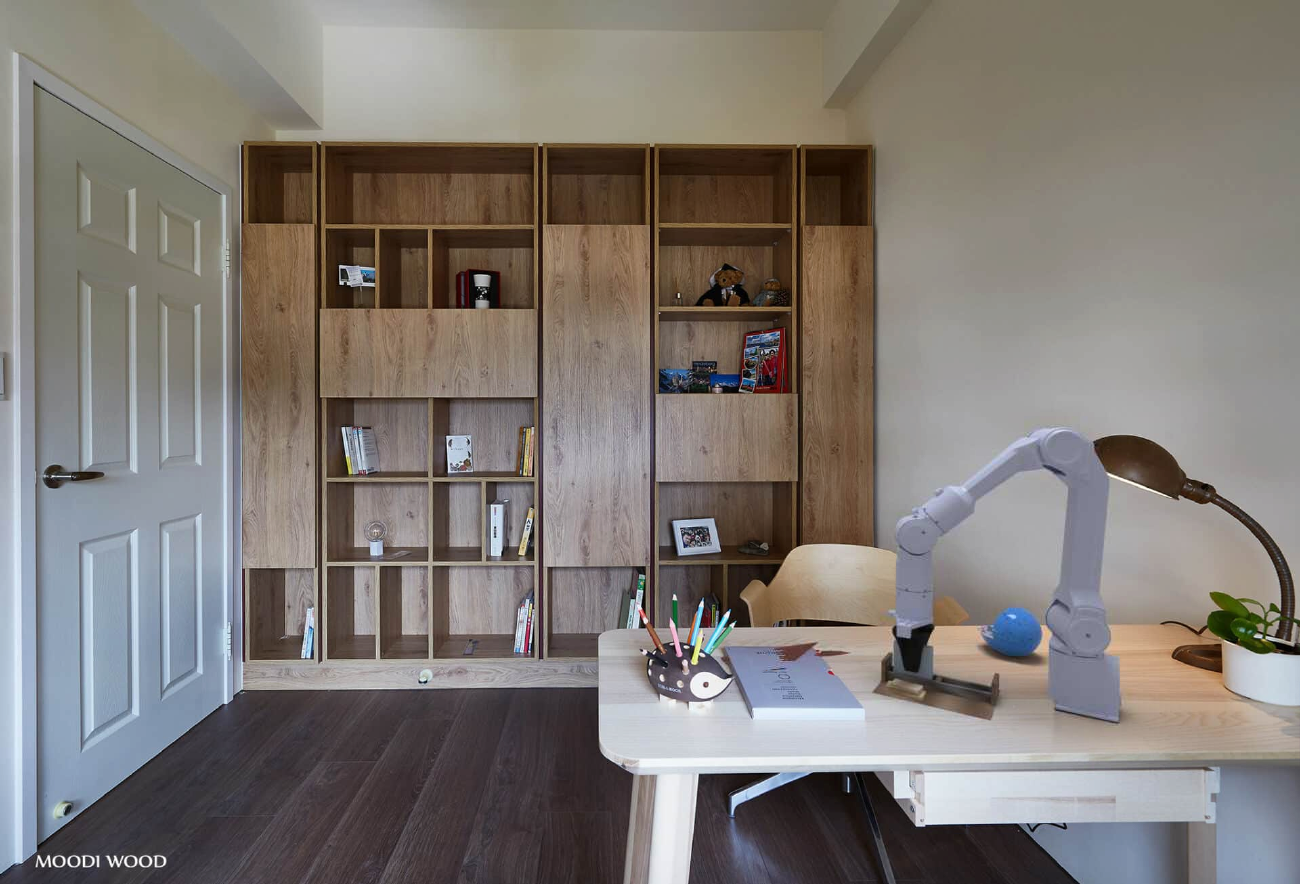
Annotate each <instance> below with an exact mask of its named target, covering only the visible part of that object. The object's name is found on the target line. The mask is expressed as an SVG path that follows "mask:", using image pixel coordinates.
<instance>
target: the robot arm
mask: <svg viewBox="0 0 1300 884" xmlns="http://www.w3.org/2000/svg"><path fill="white" fill-rule="evenodd" d="M1044 469H1045V470H1047V471H1049V472H1051V473H1052V474H1053V475H1055V477H1057V478H1058V479H1059V480H1060V481H1061V482H1062V483H1063V484H1064V485H1065V486H1067V501H1066V511H1065V523H1064V533H1063V543H1062V555H1061V562H1060V563H1061V564H1060V566H1061V567H1060V576H1059V584H1058V585H1057V587H1055V589H1054V590H1053V592H1052V599H1051V602H1050V603H1049V605H1048V607H1047V608H1046V609H1045V613H1044V616H1043V617H1044V618H1043V619H1044V624H1045V626H1046V628H1047V629H1048V630H1049V631H1050V632H1051V637H1050V638H1049V640H1048V671H1047V672H1048V673H1047V674H1048V676H1047V678H1048V679H1047V689H1048V690H1047V696H1048V697H1049V698H1050V699H1051V700H1053V701H1055V703H1054V709H1055V710H1059V711H1063V712H1068V713H1073V714H1078V715H1081V716H1087V717H1092V718H1095V719H1096V718H1097V719H1100V720H1105V721H1110V722H1115V723H1119V722H1120V707H1121V706H1122V693H1120V684H1121V683H1120V682H1121V681H1120V678H1121V676H1120V674H1121V671H1120V666H1121V665H1120V656H1118V655H1115V654H1114V655H1112V654H1109V653H1106V652H1105V651H1106V650H1107V648H1109V645H1110V644H1111V641H1112V633H1111V629H1110V627H1109V625H1108V623H1107V618H1106V617H1107V609H1106V605H1105V604H1104V601H1103V598H1102V596H1101V593H1100V589H1101V579H1102V567H1103V557H1104V556H1103V555H1104V547H1105V545H1104V544H1105V537H1106V536H1105V535H1106V522H1107V515H1108V503H1109V493H1110V485H1111V484H1110V483H1111V481H1110V477H1109V474H1108V472H1107V471H1106V469H1105V466H1104V465H1103V464H1102V462H1101V460H1100V458H1099V457H1098V455H1097V453H1096V451H1095V443H1094V442H1093V441H1092V440H1090V439H1089V438H1088V437H1086V436H1085V435H1083V433H1081V432H1080V431H1079V430H1076V429H1074V428H1071V427H1067V426H1063V427H1057V428H1056V427H1054V428H1053V427H1052V428H1051V427H1045V426H1044V427H1038V428H1035V429H1033V430H1032V431H1030V432H1029V433H1028V434H1027V435H1026V437H1024V436H1023V437H1021V438H1019V439H1017V440H1016V441H1014V442H1013V443H1012V444H1011V445H1009V446H1007V447H1006V449H1004V450H1003V451H1002V452H1001V453H999V454H998V455H997V456H996V457H994V458H993V459H992V460H991V461H990V462H988V463H987V464H986V465H985V466H984V467H982V468H981V469H979V471H977V473H975V474H974V475H973V476H972V477H970V478H969V479H968V480H967V481H966V482H964V483H963V484H962V485H960V486H956V485H947V486H946V487H945V488H944V489H943V488H942V487H938V488H936V490H934V491H933V492H934V494H935V495H934V496H933V497H932V498H931V499H929V500H928V501H927V502H925V503H923V505H922V506H920V507H918V508H917V507H914V508H912V509H911V513H912V514H913V515H912V514H911V515H905V516H904V517H902V518H901V519H900V520H899V521H898V522H897V523H896V526H895V528H894V530H893V535H894V538H895V540H896V542H897V543H898V544H897V548H896V559H895V609H889V610H888V611H887V615H888V616H889V617H893V618H894V619H895V622H896V625H893V627H892V628H891V632H892V635H893V637H894V639H895V640H896V641H897V643H898V646H899V649H900V653H901V657H902V662H903V666H904V670H905V671H910V672H914V673H918V671H919V668H920V663H921V657H922V652H923V648H924V645H928V643H929V639H930V637H931V635H932V633H933V632H934V630H935V628H936V627H935V626H936V625H934V624H933V623H934V618H935V617H934V615H933V595H934V594H933V591H934V589H933V588H934V587H933V586H934V583H933V582H934V581H933V580H934V579H933V578H934V577H933V576H934V575H933V573H934V572H933V571H934V563H933V550H934V549H935V547H936V546H937V543H938V538H940V537H943V536H945V535H946V534H947V533H949V532H950V531H952V530H953V529H954V528H956V527H957V526H958V525H960V524H961V523H962V522H964V521H965V520H966V519H968V518H969V517H971V516H972V515H973V514H974V513H975V507H976V502H977V501H979V500H980V499H981V498H983V497H984V496H986V495H987V494H988V493H990V492H991V491H993V490H994V489H996V488H997V487H999V486H1000V485H1002V484H1003V483H1005V482H1006V481H1007V480H1009V479H1010V478H1012V477H1014V476H1015V475H1016V474H1018V473H1020V472H1021V473H1022V472H1028V471H1037V470H1044Z"/></svg>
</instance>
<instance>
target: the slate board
mask: <svg viewBox="0 0 1300 884" xmlns="http://www.w3.org/2000/svg"><path fill="white" fill-rule="evenodd" d="M892 651H893V652H892V653H893V672H896V673H901V674H905V675H910V676H915V677H919V678H924V679H929V680H933V674H934V645H933V646H932V645H928V644H927V645H924V648H923V652H922V657H921V663H920V668H919V671H918V673H914V672H910V671H905V670H904V666H903V662H902V657H901V653H900V649H899V646H898V643H897V641H896V639H895V640H893V650H892Z"/></svg>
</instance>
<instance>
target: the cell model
mask: <svg viewBox="0 0 1300 884" xmlns="http://www.w3.org/2000/svg"><path fill="white" fill-rule="evenodd" d="M977 630H978V631H979V634H980V635H981V637H982V639H983V640H984V641H985V643H986V644H987V645H988V646H989V647H991V648H992V649H993V650H995V651H996V652H998V653H1000V654H1001V655H1005V656H1008V657H1015V658H1018V657H1026V656H1028V655H1030V654H1032V653H1033V652H1035V651H1036V650H1037V649H1038V647H1039V646H1040V644H1041V643H1042V639H1043V630H1042V626H1041V623H1040V621H1039V620H1038V619H1037V617H1035V615H1034V614H1033V613H1032V612H1031V611H1030V610H1028V609H1026V608H1023V607H1020V606H1015V607H1009V608H1007V609H1005V610H1003V611H1002V613H1000V614H998V616H997V617H996V619H995V621H994V623H993V624H986V625H985V624H984V625H981V626H978V627H977Z"/></svg>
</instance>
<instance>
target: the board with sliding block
mask: <svg viewBox="0 0 1300 884" xmlns="http://www.w3.org/2000/svg"><path fill="white" fill-rule="evenodd" d="M880 663H881V672H880V673H881V676H880V682H879V683H878V685H877V686H876V687H875V688H874V689H873V690H872V692H871V693H873V694H877V695H880V696H881V695H882V696H884V697H889V698H894V699H897V700H903V701H907V702H911V703H913V704H919V705H924V706H927V707H932V708H934V709H935V708H936V709H940V710H944V711H949V712H954V713H956V714H957V713H958V714H962V715H965V716H970V717H974V718H979V719H982V720H987V721H992V718H993V715H994V713H995V709H996V706H997V703H998V701H999V697H1000V694H1001V689H1000V673H998V672H994V675H993V676H992V677H993V678H992V681H991V684H990V685H987V684H984V683H983V684H982V683H978V682H972V681H968V680H963V679H958V678H954V677H949V676H944V675H941V674H940V675H939V674H935V673H933V680H929V679H924V678H919V677H915V676H910V675H905V674H901V673H896V672H893V652H892V651H889V652H887V654H886V655H885V656H884V657H883V658H882V659H881V662H880ZM895 679H898V680H902V681H906V682H910V683H914V684H918V685H922V686H923V690H922V691H926V695H925V697H924V698H923V700H922V701H921V700H917V699H913V698H909V697H904V696H900V695H896V694H891V693H887V692H885V689H886V685H887V683H888V681H893V680H895Z"/></svg>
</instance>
